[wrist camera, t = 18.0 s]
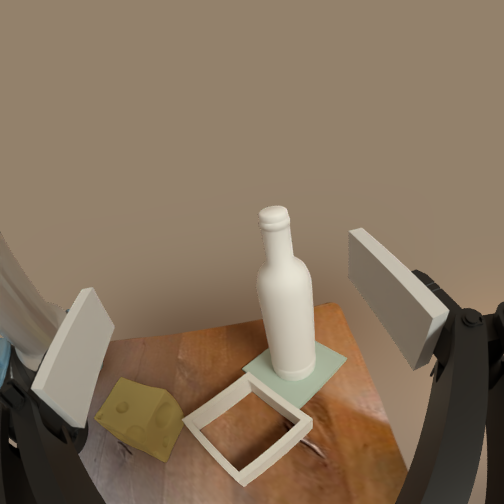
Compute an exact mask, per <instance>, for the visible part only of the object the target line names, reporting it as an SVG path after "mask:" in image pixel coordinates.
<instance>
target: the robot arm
mask: <svg viewBox="0 0 504 504" xmlns="http://www.w3.org/2000/svg"><path fill="white" fill-rule="evenodd" d="M348 275H349V279H350V280H351V282H352V283H353V284H354V286H355V287H356V288H357V290H358V291H359V292H360V294H361V295H362V296H363V298H364V299H365V301H366V302H367V303H368V305H369V306H370V308H371V309H372V310H373V312H374V313H375V315H376V316H377V317H378V319H379V320H380V322H381V323H382V325H383V326H384V327H385V329H386V330H387V332H388V333H389V335H390V336H391V338H392V339H393V341H394V342H395V344H396V345H397V346H398V348H399V349H400V351H401V352H402V354H403V356H404V357H405V359H406V360H407V362H408V363H409V365H410V366H411V368H412V369H413V371H414V370H416V369H418V368H420V367H422V366H424V365H426V364H428V363H429V361H430V359H431V357H432V355H433V354H434V355H435V356H436V358H437V361H436V363H435V365H434V368H433V370H432V372H431V374H430V376H432V375H433V374H434V377H433V383H432V388H431V394H430V399H429V404H428V408H427V413H426V416H425V421H424V424H423V428H422V432H421V435H420V439H419V442H418V445H417V449H416V452H415V455H414V458H413V461H412V464H411V467H410V469H409V472H408V474H407V477H406V480H405V482H404V484H403V487H402V489H401V492H400V494H399V496H398V498H397V501H396V503H395V504H468V501H469V498H470V495H471V492H472V488H473V485H474V481H475V477H476V474H477V469H478V465H479V461H480V455H481V451H482V445H483V438H484V432H485V424H486V434H487V457H488V458H487V488H486V500H485V504H504V302H502V303H500V304H499V305H498V307H497V310H496V312H495V313H494V314H488V315H483V316H482V315H481V313H479V312H478V311H476V310H474V309H471V308H464V309H461V307H460V306H459V305H457V303H456V302H455V301H453V299H451V297H449V295H448V294H446V292H444V290H442V289H440V287H439V286H438V285H437V284H436V283H434V281H433V280H432V279H431V278H430V277H429V276H428V275H426V274H425V273H422V272H420V271H418V270H414V271H410V270H409V269H408V268H407V267H406V266H404V265H403V264H402V263H401V262H400V261H399V260H398V259H397V258H396V257H395V256H394V255H392V254H391V253H390V252H389V251H388V250H387V249H386V248H385V247H384V246H383V245H381V244H380V243H379V242H378V241H377V240H376V239H374V238H373V237H372V236H371V235H370V234H369V233H367V232H366V231H365V230H364V229H363V228H359V229H355V230H350V231H349V274H348ZM114 328H115V326H114V324H113V323H112V321H111V319H110V317H109V316H108V314H107V312H106V311H105V309H104V307H103V305H102V304H101V302H100V300H99V298H98V296H97V294H96V292H95V290H94V288H93V287H91V288H86V289H82V290H81V292H80V293H79V295H78V297H77V299H76V300H75V302H74V303H73V305H72V307H71V309H68V310H66V311H64V310H63V309H62V308H61V307H60V306H58V305H56V304H54V303H49V302H46V301H45V300H44V299H43V297H42V296H41V295H40V293H39V292H38V291H37V289H36V288H35V286H34V285H33V284H32V282H31V281H30V280H29V278H28V276H27V275H26V274H25V272H24V271H23V269H22V268H21V266H20V264H19V263H18V261H17V260H16V258H15V257H14V255H13V253H12V252H11V250H10V248H9V247H8V245H7V243H6V242H5V240H4V238H3V236H2V234H1V232H0V334H1V335H2V336H3V337H4V338H0V504H106V503H105V501H104V500H103V498H102V497H101V495H100V493H99V492H98V490H97V489H96V487H95V485H94V483H93V482H92V480H91V478H90V476H89V475H88V473H87V471H86V469H85V467H84V465H83V463H82V461H81V459H80V457H79V455H78V453H79V452H80V451H81V450H82V448H83V447H84V445H85V442H86V440H87V435H88V423H87V420H86V419H87V415H88V411H89V407H90V404H91V400H92V396H93V392H94V389H95V385H96V382H97V379H98V375H99V372H100V370H101V369H102V367H103V359H104V356H105V353H106V350H107V347H108V344H109V342H110V338H111V336H112V333H113V330H114ZM11 344H12V345H11ZM9 438H10V439H12V440H13V441H14V442H15V443H17V448H15V447H14V446H12V445H11V444H10V443H9Z"/></svg>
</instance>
